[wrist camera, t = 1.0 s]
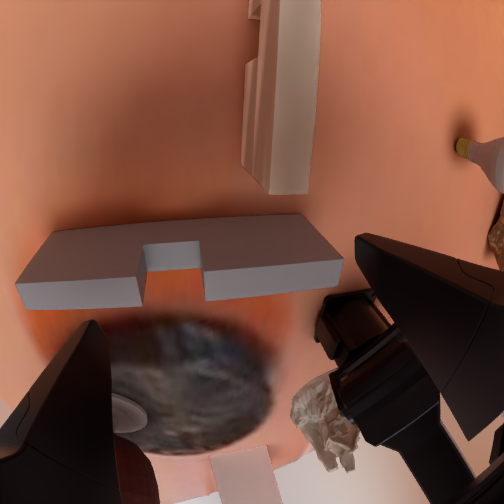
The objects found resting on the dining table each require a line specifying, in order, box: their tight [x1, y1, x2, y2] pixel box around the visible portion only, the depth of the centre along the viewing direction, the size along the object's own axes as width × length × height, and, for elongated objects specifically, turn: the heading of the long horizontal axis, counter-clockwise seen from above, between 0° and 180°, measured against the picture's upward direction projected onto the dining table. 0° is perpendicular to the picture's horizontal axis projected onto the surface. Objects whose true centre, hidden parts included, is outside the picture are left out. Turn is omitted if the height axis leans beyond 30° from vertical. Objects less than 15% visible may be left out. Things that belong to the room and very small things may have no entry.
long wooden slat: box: [241, 0, 321, 195], centre depth 12 cm, size 2×18×7 cm, turn 177°
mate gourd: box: [112, 393, 160, 504], centre depth 22 cm, size 16×14×20 cm
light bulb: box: [456, 137, 504, 194], centre depth 18 cm, size 5×5×10 cm
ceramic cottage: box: [291, 368, 360, 473], centre depth 34 cm, size 16×16×15 cm
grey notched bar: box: [15, 214, 344, 310], centre depth 18 cm, size 20×2×7 cm, turn 87°
